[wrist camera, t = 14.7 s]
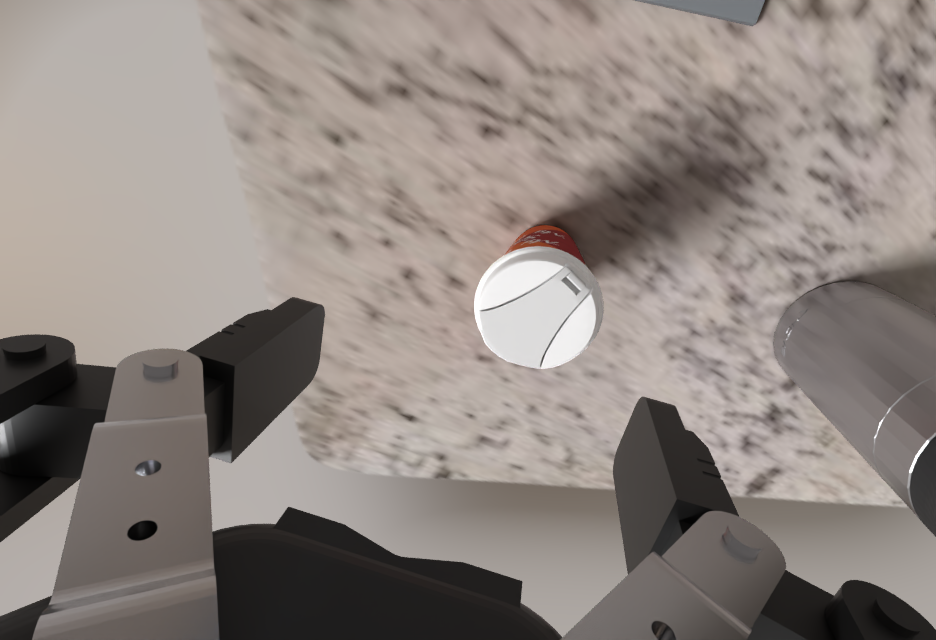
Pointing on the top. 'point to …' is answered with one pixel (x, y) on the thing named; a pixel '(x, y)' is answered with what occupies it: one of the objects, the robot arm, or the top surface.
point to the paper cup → (539, 301)
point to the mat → (717, 8)
